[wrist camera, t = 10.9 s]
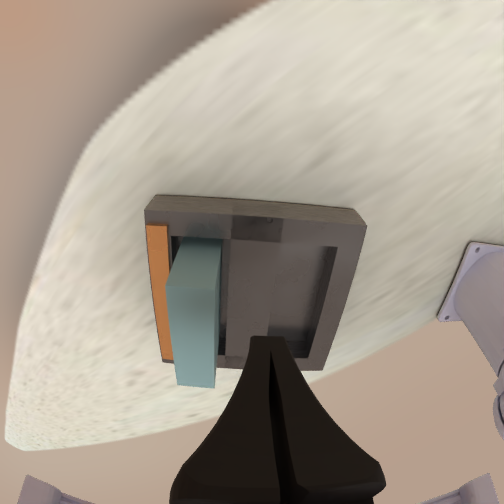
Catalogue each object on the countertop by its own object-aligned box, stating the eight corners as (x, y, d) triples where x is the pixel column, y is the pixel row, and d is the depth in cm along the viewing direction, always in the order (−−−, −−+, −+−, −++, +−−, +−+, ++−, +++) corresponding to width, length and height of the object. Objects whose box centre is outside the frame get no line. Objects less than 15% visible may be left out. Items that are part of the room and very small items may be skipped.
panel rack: (355, 209, 19) (369, 228, 17) (317, 349, 26) (322, 373, 23) (155, 195, 19) (142, 211, 16) (168, 341, 25) (161, 365, 23)
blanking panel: (222, 236, 20) (214, 289, 15) (220, 330, 24) (214, 388, 19) (184, 233, 19) (164, 285, 15) (188, 328, 23) (177, 384, 19)
